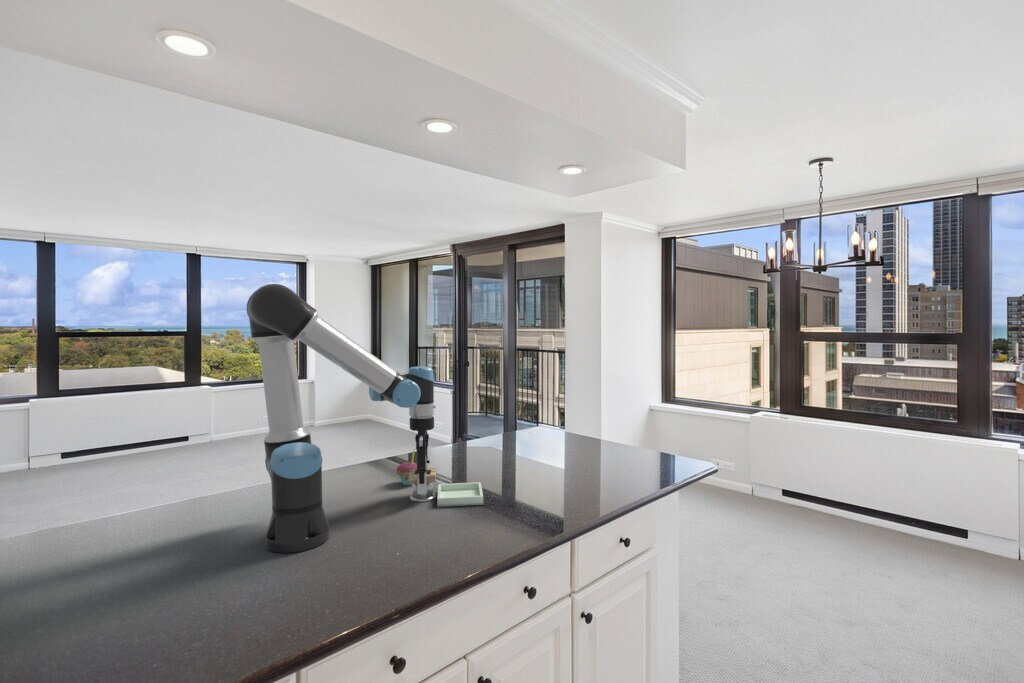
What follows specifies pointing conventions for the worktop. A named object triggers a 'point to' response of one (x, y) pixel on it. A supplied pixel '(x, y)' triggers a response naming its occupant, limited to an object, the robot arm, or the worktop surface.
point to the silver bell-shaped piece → (423, 497)
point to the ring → (413, 476)
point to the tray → (459, 494)
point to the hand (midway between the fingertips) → (422, 488)
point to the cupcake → (406, 470)
